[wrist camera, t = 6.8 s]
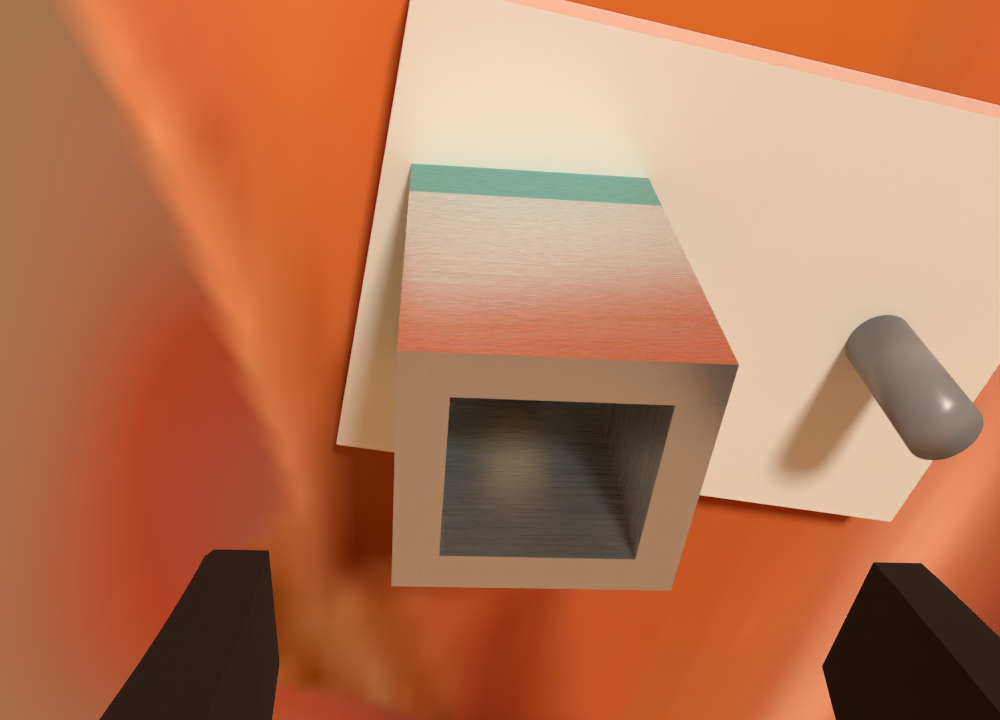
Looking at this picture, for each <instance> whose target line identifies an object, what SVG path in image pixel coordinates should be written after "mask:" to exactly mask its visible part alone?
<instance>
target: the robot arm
mask: <svg viewBox="0 0 1000 720" xmlns="http://www.w3.org/2000/svg"><path fill="white" fill-rule="evenodd" d="M822 667H823V671H824V675H825V679H826V683H827V687H828V691H829V695H830V699H831V703H832V707H833V711H834V714H835V718H836V720H1000V637H999V636H998V635H997V634H995V633H994V632H993V631H992V630H991V629H990V628H989V627H988V626H987V625H986V624H985V623H984V622H983V621H982V620H981V619H980V618H979V617H978V616H977V615H976V614H975V613H974V612H973V611H972V610H971V609H970V608H968V607H967V606H966V605H965V604H964V603H963V602H962V601H961V600H960V599H959V598H958V597H957V596H956V595H955V594H954V593H953V592H952V591H951V590H950V589H949V588H947V587H946V586H945V585H944V584H943V583H942V582H941V581H940V580H939V579H938V578H937V577H936V576H935V575H933V574H932V573H931V572H930V571H929V570H928V569H927V568H926V567H925V566H924V565H922V564H921V563H873V565H872V567H871V569H870V571H869V573H868V575H867V577H866V579H865V581H864V583H863V585H862V587H861V589H860V591H859V593H858V595H857V597H856V599H855V601H854V603H853V605H852V607H851V609H850V611H849V613H848V615H847V617H846V619H845V621H844V623H843V625H842V627H841V629H840V631H839V633H838V635H837V637H836V639H835V641H834V643H833V646H832V648H831V650H830V652H829V654H828V656H827V658H826V660H825V662H824V664H823V666H822ZM278 669H279V653H278V643H277V632H276V622H275V611H274V601H273V591H272V580H271V570H270V559H269V551H260V550H213V551H211V552H210V553H209V554H207V555H206V556H205V557H204V558H203V560H202V562H201V564H200V566H199V568H198V569H197V571H196V573H195V575H194V576H193V578H192V580H191V582H190V583H189V585H188V587H187V588H186V590H185V592H184V594H183V595H182V597H181V599H180V600H179V602H178V604H177V605H176V607H175V608H174V610H173V612H172V613H171V615H170V616H169V618H168V620H167V621H166V623H165V624H164V626H163V628H162V629H161V631H160V632H159V634H158V635H157V637H156V638H155V640H154V641H153V643H152V645H151V646H150V647H149V649H148V651H147V652H146V653H145V655H144V657H143V658H142V660H141V661H140V663H139V664H138V666H137V667H136V668H135V670H134V671H133V673H132V674H131V675H130V677H129V678H128V680H127V681H126V683H125V684H124V686H123V687H122V688H121V690H120V691H119V693H118V694H117V696H116V697H115V698H114V700H113V701H112V703H111V704H110V705H109V707H108V708H107V710H106V711H105V713H104V714H103V716H102V717H101V718H100V720H272V714H273V706H274V699H275V692H276V684H277V676H278Z"/></svg>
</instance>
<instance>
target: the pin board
mask: <svg viewBox="0 0 1000 720" xmlns="http://www.w3.org/2000/svg"><path fill="white" fill-rule="evenodd" d="M411 163H412V164H428V165H444V166H461V167H477V168H493V169H509V170H525V171H541V172H557V173H574V174H590V175H606V176H622V177H638V178H649V180H650V183H651V185H652V187H653V189H654V191H655V193H656V195H657V197H658V199H659V201H660V203H661V205H662V207H663V209H664V211H665V213H666V215H667V218H668V220H669V222H670V224H671V226H672V228H673V230H674V232H675V234H676V236H677V238H678V240H679V242H680V244H681V246H682V248H683V250H684V252H685V255H686V257H687V259H688V261H689V263H690V265H691V267H692V269H693V271H694V273H695V275H696V277H697V279H698V281H699V283H700V285H701V287H702V290H703V292H704V294H705V296H706V298H707V300H708V302H709V304H710V306H711V308H712V310H713V312H714V314H715V316H716V318H717V320H718V322H719V325H720V327H721V329H722V331H723V333H724V335H725V337H726V339H727V341H728V343H729V345H730V347H731V349H732V351H733V353H734V355H735V357H736V360H737V362H738V364H739V367H738V370H737V373H736V377H735V380H734V383H733V387H732V390H731V393H730V396H729V400H728V403H727V406H726V410H725V413H724V416H723V420H722V423H721V426H720V429H719V433H718V436H717V439H716V443H715V446H714V449H713V452H712V456H711V459H710V462H709V466H708V469H707V472H706V476H705V479H704V482H703V485H702V489H701V492H700V495H702V496H709V497H717V498H724V499H731V500H738V501H745V502H752V503H760V504H767V505H774V506H781V507H788V508H795V509H803V510H810V511H817V512H824V513H831V514H838V515H846V516H853V517H860V518H867V519H874V520H881V521H889V522H891V521H892V519H893V518H894V516H895V515H896V513H897V512H898V511H899V509H900V508H901V506H902V505H903V503H904V502H905V500H906V499H907V498H908V496H909V495H910V493H911V492H912V490H913V489H914V487H915V486H916V484H917V483H918V482H919V480H920V479H921V477H922V476H923V474H924V473H925V471H926V470H927V468H928V467H929V466H930V464H931V463H932V461H933V460H941V459H945V458H949V457H951V456H954V455H956V454H958V453H960V452H962V451H963V450H965V449H966V448H968V447H969V446H970V445H971V444H972V443H973V442H974V441H975V440H976V439H977V437H978V436H979V434H980V432H981V430H982V427H983V417H982V414H981V412H980V411H979V410H978V409H977V407H976V406H975V405H974V404H973V402H974V400H975V399H976V397H977V396H978V394H979V393H980V392H981V390H982V389H983V387H984V386H985V384H986V383H987V381H988V380H989V378H990V377H991V376H992V374H993V373H994V371H995V370H996V368H997V367H998V365H999V364H1000V105H996V104H992V103H988V102H984V101H980V100H976V99H972V98H967V97H963V96H959V95H955V94H951V93H947V92H943V91H938V90H934V89H930V88H926V87H922V86H918V85H914V84H909V83H905V82H901V81H897V80H893V79H889V78H885V77H880V76H876V75H872V74H868V73H864V72H860V71H856V70H852V69H847V68H843V67H839V66H835V65H831V64H827V63H823V62H818V61H814V60H810V59H806V58H802V57H798V56H794V55H789V54H785V53H781V52H777V51H773V50H769V49H765V48H760V47H756V46H752V45H748V44H744V43H740V42H736V41H731V40H727V39H723V38H719V37H715V36H711V35H707V34H702V33H698V32H694V31H690V30H686V29H682V28H678V27H673V26H669V25H665V24H661V23H657V22H653V21H649V20H644V19H640V18H636V17H632V16H628V15H624V14H620V13H616V12H611V11H607V10H603V9H599V8H595V7H591V6H587V5H582V4H578V3H574V2H570V1H566V0H410V1H409V7H408V13H407V19H406V25H405V31H404V37H403V43H402V49H401V55H400V61H399V67H398V73H397V79H396V85H395V91H394V97H393V103H392V109H391V115H390V121H389V127H388V133H387V139H386V145H385V151H384V157H383V163H382V169H381V175H380V181H379V187H378V193H377V199H376V205H375V211H374V217H373V223H372V229H371V235H370V241H369V247H368V253H367V260H366V266H365V272H364V278H363V284H362V290H361V296H360V302H359V308H358V314H357V320H356V326H355V332H354V338H353V344H352V350H351V356H350V362H349V368H348V374H347V380H346V386H345V392H344V398H343V404H342V410H341V416H340V423H339V429H338V436H337V442H336V444H337V445H344V446H351V447H358V448H365V449H373V450H380V451H387V452H394V453H395V411H396V368H397V343H398V330H399V317H400V304H401V291H402V278H403V265H404V252H405V239H406V226H407V214H408V201H409V188H410V175H411Z"/></svg>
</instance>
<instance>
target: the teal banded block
mask: <svg viewBox="0 0 1000 720" xmlns="http://www.w3.org/2000/svg"><path fill="white" fill-rule="evenodd" d="M738 367H739V364H738V362H737V360H736V357H735V355H734V353H733V351H732V349H731V347H730V345H729V343H728V341H727V339H726V337H725V335H724V333H723V331H722V329H721V327H720V325H719V322H718V320H717V318H716V316H715V314H714V312H713V310H712V308H711V306H710V304H709V302H708V300H707V298H706V296H705V294H704V292H703V290H702V287H701V285H700V283H699V281H698V279H697V277H696V275H695V273H694V271H693V269H692V267H691V265H690V263H689V261H688V259H687V257H686V255H685V252H684V250H683V248H682V246H681V244H680V242H679V240H678V238H677V236H676V234H675V232H674V230H673V228H672V226H671V224H670V222H669V220H668V218H667V215H666V213H665V211H664V209H663V207H662V205H661V203H660V201H659V199H658V197H657V195H656V193H655V191H654V189H653V187H652V185H651V183H650V180H649V178H638V177H622V176H606V175H590V174H574V173H557V172H541V171H525V170H509V169H493V168H477V167H461V166H444V165H428V164H412V163H411V175H410V188H409V201H408V214H407V226H406V239H405V252H404V265H403V278H402V291H401V304H400V317H399V330H398V343H397V368H396V411H395V454H394V498H393V541H392V584H391V586H414V587H479V588H544V589H609V590H671V588H672V584H673V581H674V578H675V574H676V571H677V568H678V565H679V561H680V558H681V555H682V551H683V548H684V545H685V541H686V538H687V535H688V532H689V528H690V525H691V522H692V518H693V515H694V512H695V509H696V505H697V502H698V499H699V495H700V492H701V489H702V485H703V482H704V479H705V476H706V472H707V469H708V466H709V462H710V459H711V456H712V452H713V449H714V446H715V443H716V439H717V436H718V433H719V429H720V426H721V423H722V420H723V416H724V413H725V410H726V406H727V403H728V400H729V396H730V393H731V390H732V387H733V383H734V380H735V377H736V373H737V370H738Z"/></svg>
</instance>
